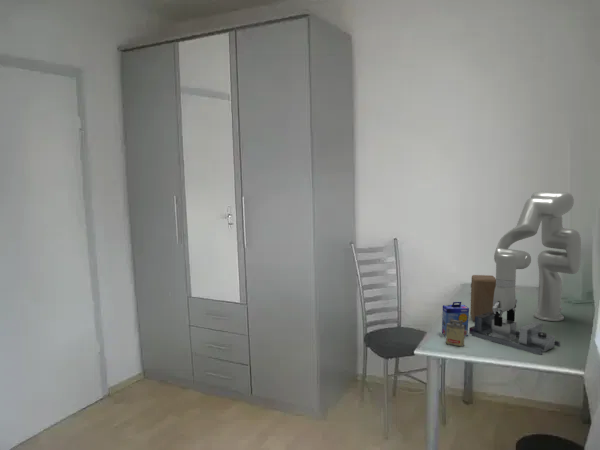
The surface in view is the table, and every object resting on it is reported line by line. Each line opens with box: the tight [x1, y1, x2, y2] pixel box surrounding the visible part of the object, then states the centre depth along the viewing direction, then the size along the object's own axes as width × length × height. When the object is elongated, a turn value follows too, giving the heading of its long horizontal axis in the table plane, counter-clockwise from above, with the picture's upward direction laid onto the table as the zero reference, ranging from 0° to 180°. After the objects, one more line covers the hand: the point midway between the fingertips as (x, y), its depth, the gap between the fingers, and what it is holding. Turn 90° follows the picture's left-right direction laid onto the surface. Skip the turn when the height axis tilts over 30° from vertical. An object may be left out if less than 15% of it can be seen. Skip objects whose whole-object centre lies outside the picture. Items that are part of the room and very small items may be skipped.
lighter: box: [445, 319, 465, 347], centre depth 201 cm, size 7×4×10 cm, turn 57°
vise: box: [468, 311, 561, 356], centre depth 205 cm, size 16×31×8 cm, turn 39°
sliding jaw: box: [518, 321, 556, 352], centre depth 197 cm, size 12×9×8 cm
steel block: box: [490, 318, 517, 342], centre depth 208 cm, size 5×8×7 cm, turn 38°
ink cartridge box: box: [441, 301, 470, 337], centre depth 212 cm, size 10×6×14 cm, turn 95°
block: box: [469, 274, 496, 322], centre depth 232 cm, size 10×10×20 cm
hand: (504, 323), depth 208 cm, fingers open, 9 cm apart
